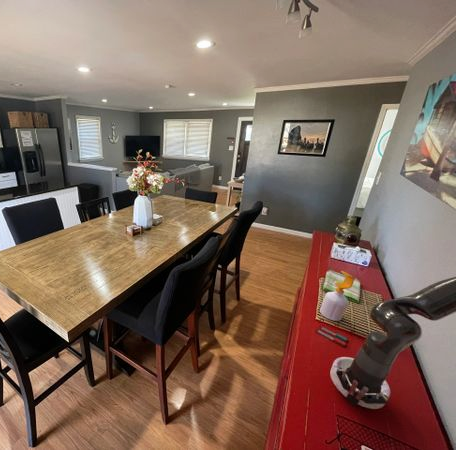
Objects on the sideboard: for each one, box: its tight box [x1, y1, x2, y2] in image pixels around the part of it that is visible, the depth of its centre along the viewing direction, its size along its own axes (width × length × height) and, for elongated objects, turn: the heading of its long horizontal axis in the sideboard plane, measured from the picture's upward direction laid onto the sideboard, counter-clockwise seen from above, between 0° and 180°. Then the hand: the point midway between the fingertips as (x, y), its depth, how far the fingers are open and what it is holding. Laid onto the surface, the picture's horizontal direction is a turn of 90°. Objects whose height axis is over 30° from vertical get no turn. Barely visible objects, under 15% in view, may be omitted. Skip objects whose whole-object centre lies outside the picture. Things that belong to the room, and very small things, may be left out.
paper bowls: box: [329, 356, 391, 410], centre depth 82 cm, size 15×15×8 cm
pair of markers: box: [317, 329, 346, 347], centre depth 105 cm, size 10×2×1 cm, turn 43°
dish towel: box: [322, 269, 361, 304], centre depth 139 cm, size 17×23×4 cm
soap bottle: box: [319, 270, 356, 322], centre depth 114 cm, size 9×9×25 cm
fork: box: [320, 326, 348, 343], centre depth 107 cm, size 9×2×1 cm, turn 43°
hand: (350, 402), depth 77 cm, fingers closed
